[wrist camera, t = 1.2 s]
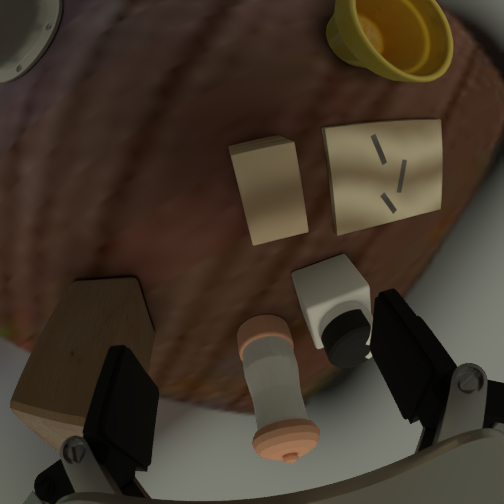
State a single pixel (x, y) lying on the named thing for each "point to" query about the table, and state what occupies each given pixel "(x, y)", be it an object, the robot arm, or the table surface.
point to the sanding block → (270, 188)
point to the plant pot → (392, 38)
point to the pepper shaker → (275, 389)
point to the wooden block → (79, 354)
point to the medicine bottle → (336, 309)
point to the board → (383, 171)
